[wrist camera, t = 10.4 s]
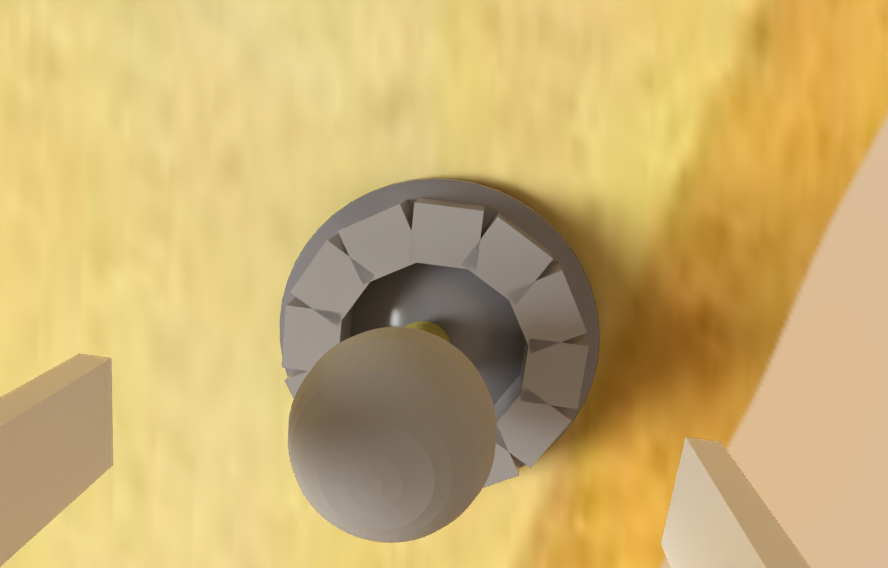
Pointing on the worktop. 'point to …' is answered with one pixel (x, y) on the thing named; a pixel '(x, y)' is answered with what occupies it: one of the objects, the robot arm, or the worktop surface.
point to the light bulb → (392, 433)
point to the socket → (455, 299)
